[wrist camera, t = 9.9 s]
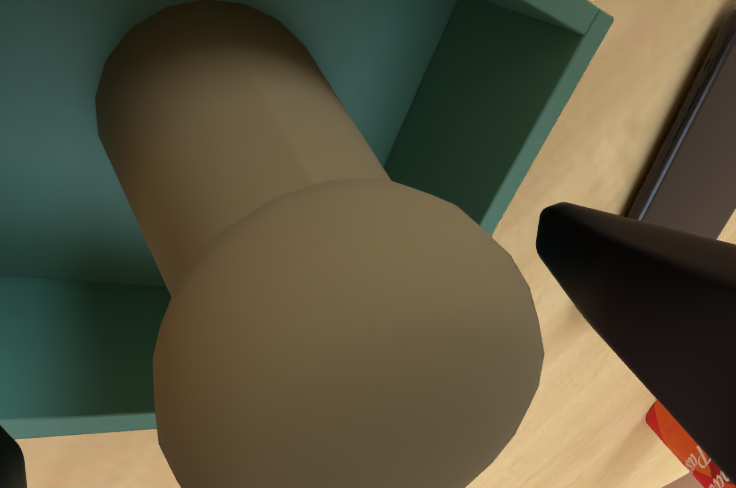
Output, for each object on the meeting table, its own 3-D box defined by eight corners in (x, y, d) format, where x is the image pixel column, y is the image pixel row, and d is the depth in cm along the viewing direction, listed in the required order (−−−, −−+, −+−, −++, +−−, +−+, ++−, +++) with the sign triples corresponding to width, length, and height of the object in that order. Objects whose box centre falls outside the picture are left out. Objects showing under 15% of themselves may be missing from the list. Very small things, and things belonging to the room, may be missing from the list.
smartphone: (667, 293, 32) (836, 13, 23) (679, 303, 31) (858, 18, 23) (572, 313, 28) (729, -6, 20) (584, 324, 28) (752, -2, 19)
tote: (475, -23, 15) (616, 18, 11) (328, 302, 20) (391, 412, 16) (-49, -315, 9) (-163, -472, 5) (-79, 276, 14) (-146, 453, 9)
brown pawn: (294, 225, 17) (492, 558, 9) (84, 207, 14) (91, 697, 6) (353, 37, 14) (710, 268, 6) (107, -38, 11) (186, 230, 3)
